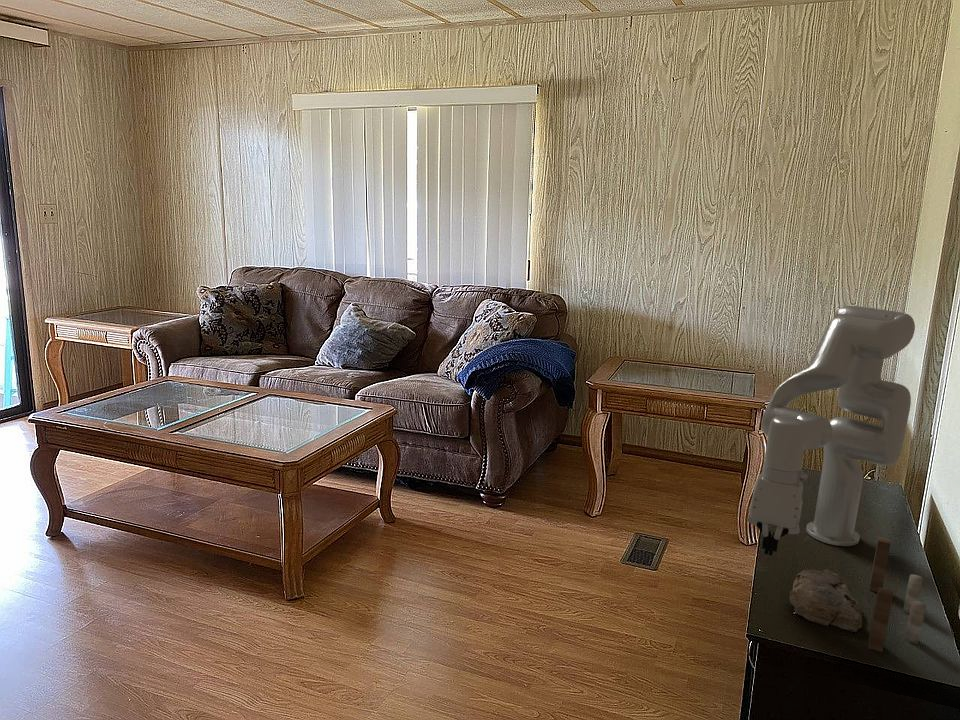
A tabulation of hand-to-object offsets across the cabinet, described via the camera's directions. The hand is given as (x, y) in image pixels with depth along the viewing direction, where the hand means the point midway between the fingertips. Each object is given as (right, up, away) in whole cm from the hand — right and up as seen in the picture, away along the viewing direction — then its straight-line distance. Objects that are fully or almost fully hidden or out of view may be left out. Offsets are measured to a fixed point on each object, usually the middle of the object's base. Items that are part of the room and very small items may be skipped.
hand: (768, 552), depth 164 cm
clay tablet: (+11, -11, -3) cm, 15 cm away
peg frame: (+22, -12, -9) cm, 27 cm away
